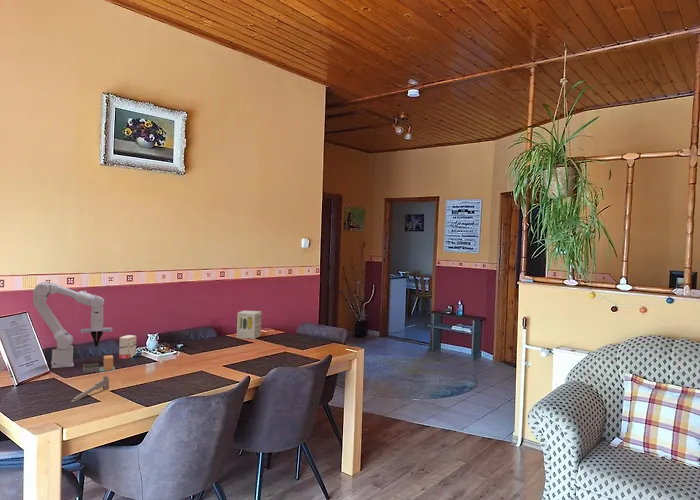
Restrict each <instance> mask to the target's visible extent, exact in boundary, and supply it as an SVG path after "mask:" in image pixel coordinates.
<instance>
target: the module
mask: <svg viewBox="0 0 700 500" xmlns="http://www.w3.org/2000/svg"><path fill="white" fill-rule="evenodd" d="M113 366H114V356H113V355H112V354H110V355H103V366H102V367H103V368H104V371H103V372H106V371H105V370H112V371H114V370H113Z"/></svg>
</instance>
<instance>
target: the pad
mask: <svg viewBox="0 0 700 500" xmlns="http://www.w3.org/2000/svg"><path fill="white" fill-rule="evenodd" d="M99 367H100V372H109V371H116V367H115V366H114V365H113V370H105V371H104V368H103V367H104V366H99Z"/></svg>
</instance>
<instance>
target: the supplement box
mask: <svg viewBox="0 0 700 500" xmlns="http://www.w3.org/2000/svg"><path fill="white" fill-rule="evenodd" d="M262 314H263V313H262V311H260V310H241V311H238V312H237V318H236V319H237V320H236V322H237V323H236V338H237V339H247V338H250V340H255V339H257V338H259V337H261V335H262Z"/></svg>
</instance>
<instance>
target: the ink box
mask: <svg viewBox="0 0 700 500" xmlns="http://www.w3.org/2000/svg"><path fill="white" fill-rule="evenodd" d="M118 345H119V346H118V348H119V349H118V351H119V352H118V354H119V355H118V359H119V360H121V359H122V360H123V359H124V360H127V359H133V358H134V357H133V356H134V355H136V356H137V335H134V334H133V335H132V334H128V335H123V336H120V337H119V343H118Z"/></svg>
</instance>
